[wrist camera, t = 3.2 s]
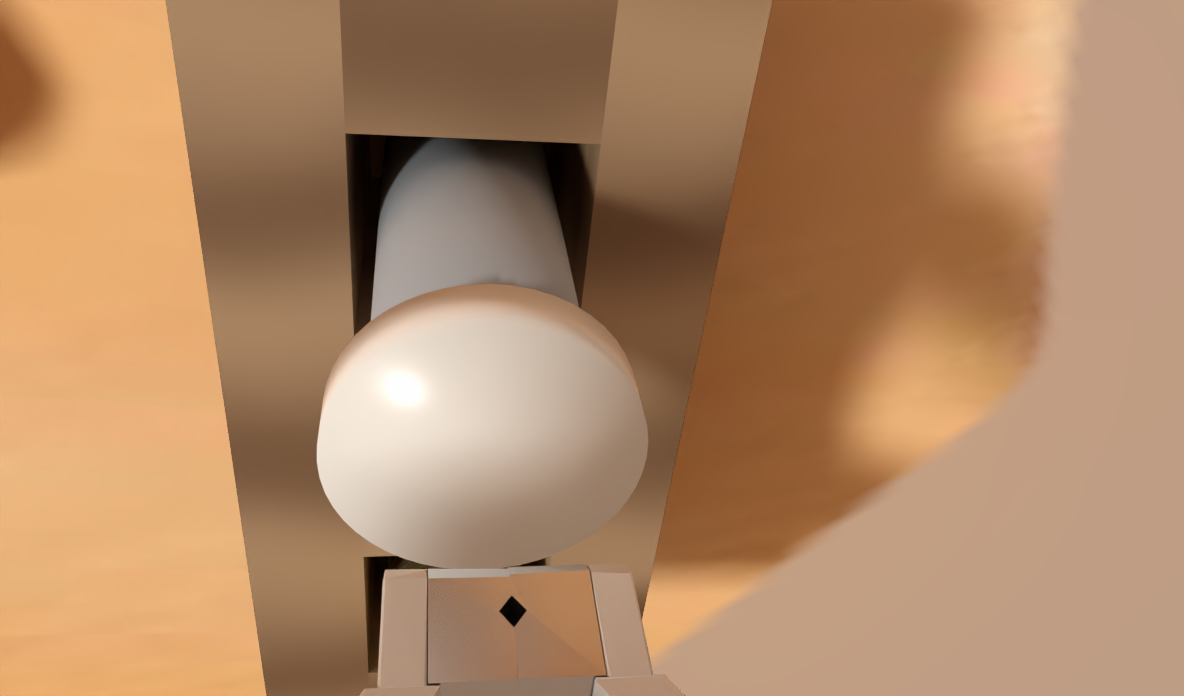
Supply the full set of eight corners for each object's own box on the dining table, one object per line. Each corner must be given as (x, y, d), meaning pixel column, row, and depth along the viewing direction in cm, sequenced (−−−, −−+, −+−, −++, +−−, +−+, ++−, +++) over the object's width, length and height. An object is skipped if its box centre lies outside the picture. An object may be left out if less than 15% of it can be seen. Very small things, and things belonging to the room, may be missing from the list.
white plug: (560, 251, 24) (626, 564, 16) (360, 247, 23) (325, 574, 15) (579, 61, 21) (671, 326, 13) (352, 48, 20) (306, 322, 13)
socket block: (585, 529, 36) (619, 725, 30) (302, 536, 34) (273, 747, 28) (681, -123, 23) (777, -23, 17) (235, -164, 21) (155, -70, 15)
